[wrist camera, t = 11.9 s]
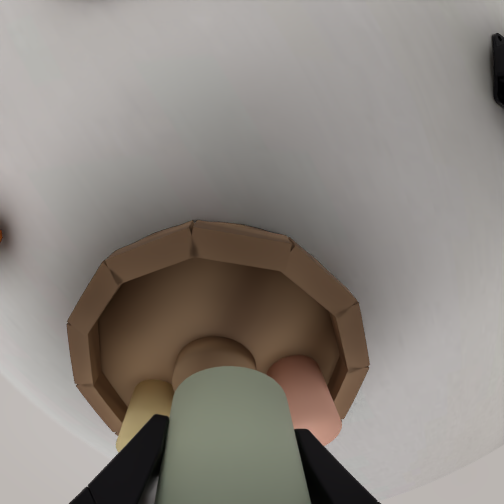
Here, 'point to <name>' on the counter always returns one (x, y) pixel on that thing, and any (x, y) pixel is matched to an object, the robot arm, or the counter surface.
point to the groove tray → (211, 314)
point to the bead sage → (231, 442)
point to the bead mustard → (145, 408)
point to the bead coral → (307, 396)
